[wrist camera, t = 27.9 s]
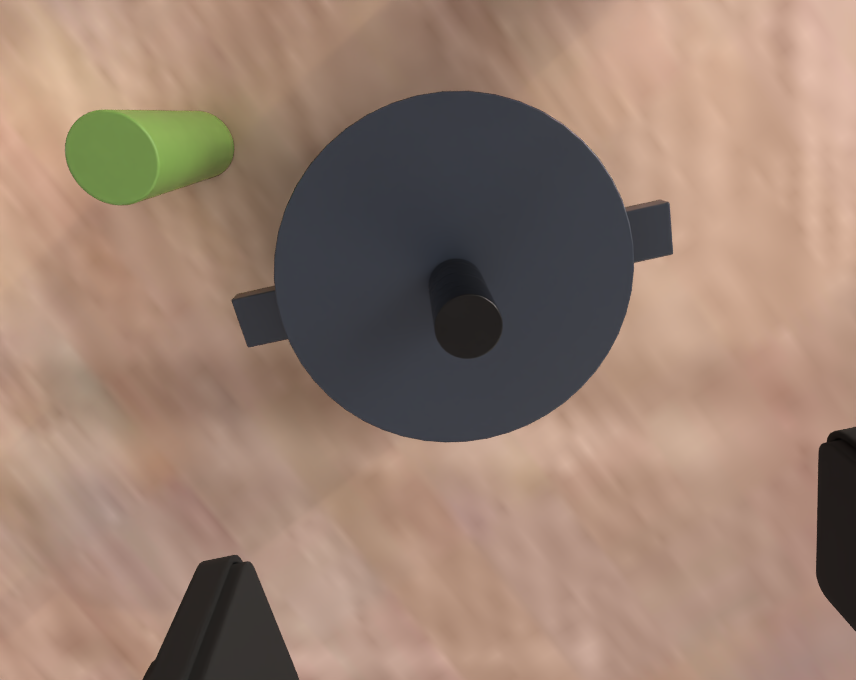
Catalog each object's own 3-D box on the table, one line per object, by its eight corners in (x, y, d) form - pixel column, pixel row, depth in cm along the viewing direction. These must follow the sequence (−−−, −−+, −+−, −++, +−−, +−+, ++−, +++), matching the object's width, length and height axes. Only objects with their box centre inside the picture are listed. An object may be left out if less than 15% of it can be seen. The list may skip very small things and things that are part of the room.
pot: (221, 154, 30) (176, 164, 24) (612, 63, 30) (666, 50, 23) (304, 405, 35) (283, 466, 29) (638, 333, 35) (688, 380, 29)
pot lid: (230, 139, 25) (172, 148, 18) (606, 51, 24) (676, 30, 18) (332, 459, 30) (314, 548, 24) (640, 394, 29) (703, 469, 23)
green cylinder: (159, 118, 30) (47, 121, 20) (222, 104, 30) (138, 100, 20) (182, 183, 31) (86, 214, 21) (242, 170, 31) (172, 194, 21)
